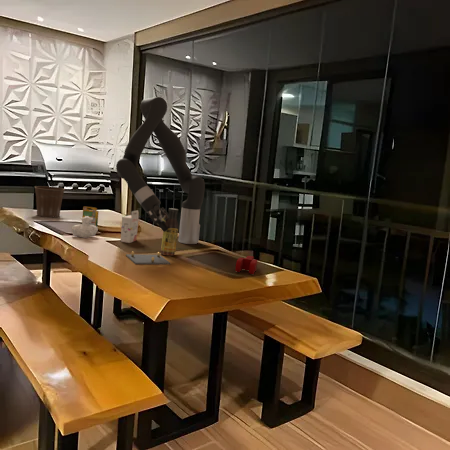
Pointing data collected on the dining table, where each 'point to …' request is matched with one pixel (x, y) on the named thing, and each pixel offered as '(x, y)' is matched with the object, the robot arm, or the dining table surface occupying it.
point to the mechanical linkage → (246, 264)
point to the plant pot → (48, 200)
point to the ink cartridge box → (129, 227)
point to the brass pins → (152, 257)
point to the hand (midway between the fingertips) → (169, 229)
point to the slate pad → (147, 259)
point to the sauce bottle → (170, 234)
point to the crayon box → (91, 215)
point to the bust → (84, 228)
